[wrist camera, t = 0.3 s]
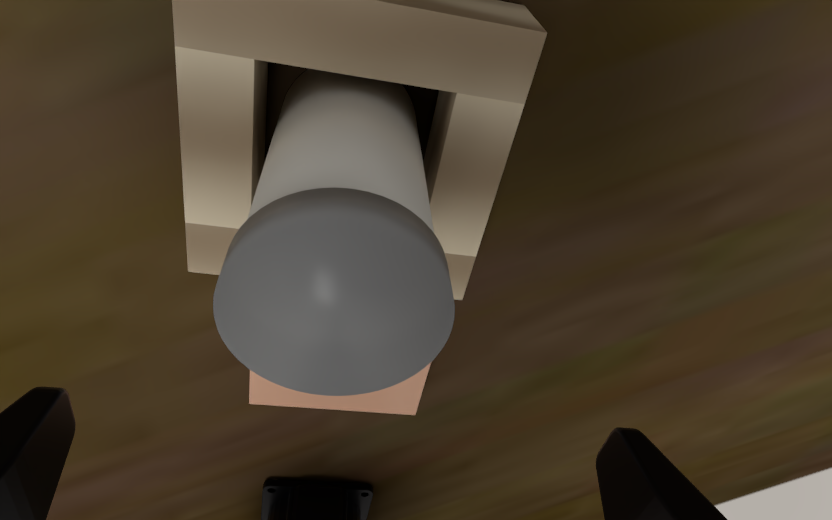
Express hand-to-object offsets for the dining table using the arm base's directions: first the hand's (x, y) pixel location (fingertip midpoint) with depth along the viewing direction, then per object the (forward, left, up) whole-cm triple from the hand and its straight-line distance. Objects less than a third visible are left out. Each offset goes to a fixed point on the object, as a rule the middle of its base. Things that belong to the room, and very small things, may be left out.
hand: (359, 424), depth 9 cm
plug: (-1, 0, -13) cm, 13 cm away
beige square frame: (-1, +1, -13) cm, 13 cm away
